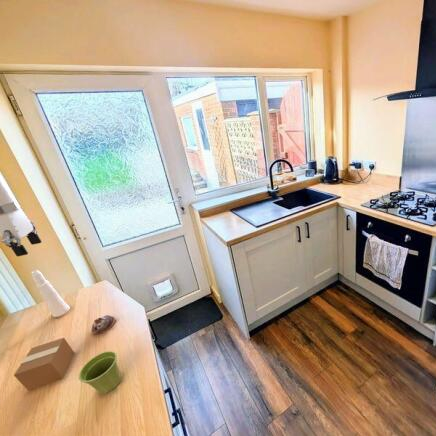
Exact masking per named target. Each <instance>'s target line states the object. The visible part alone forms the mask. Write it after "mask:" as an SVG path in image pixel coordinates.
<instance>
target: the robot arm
mask: <svg viewBox="0 0 436 436" xmlns="http://www.w3.org/2000/svg"><path fill="white" fill-rule="evenodd" d="M25 237H27V240H28V241H29V243H30V244H31V246H32V245H38V244H41V243H42V240H41V238H40V236H39V235H38V232H37V230H36V226H35V224H34V221H32V220H29V218H28V216H27V215H26V213H24V211H23V210H22V208H21V206H20V204H19V203H18V201H17V200H16V198H15V196H14V195H13V193H12V191H11V189H10V188H9V186H8V184H7V183H6V181H5V179H4V178H3V177H2V176H1V175H0V238H1V240H0V241H1V243H2V244H4V245H5V246H6V247H8V248H10V249H11V250H12V252H13V253H14V254H15V256H16V257H22V256H27V255H28V254H29V252H28V251H27V248H26V247H25V245H23V244H22V242H21V241H22V239H24V238H25Z"/></svg>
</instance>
